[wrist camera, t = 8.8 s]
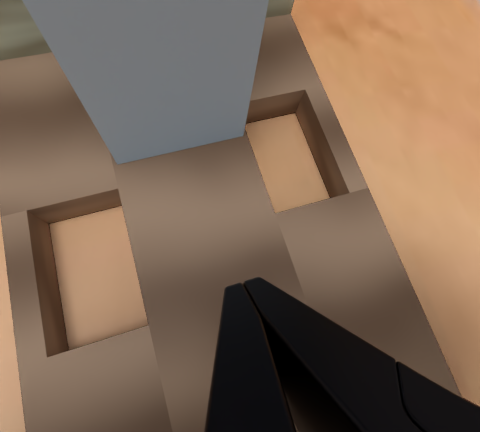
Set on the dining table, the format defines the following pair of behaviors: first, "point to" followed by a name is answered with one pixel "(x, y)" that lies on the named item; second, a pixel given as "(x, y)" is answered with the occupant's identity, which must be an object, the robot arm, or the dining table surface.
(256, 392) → the robot arm
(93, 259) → the dining table surface
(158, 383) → the board
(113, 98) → the blue block
